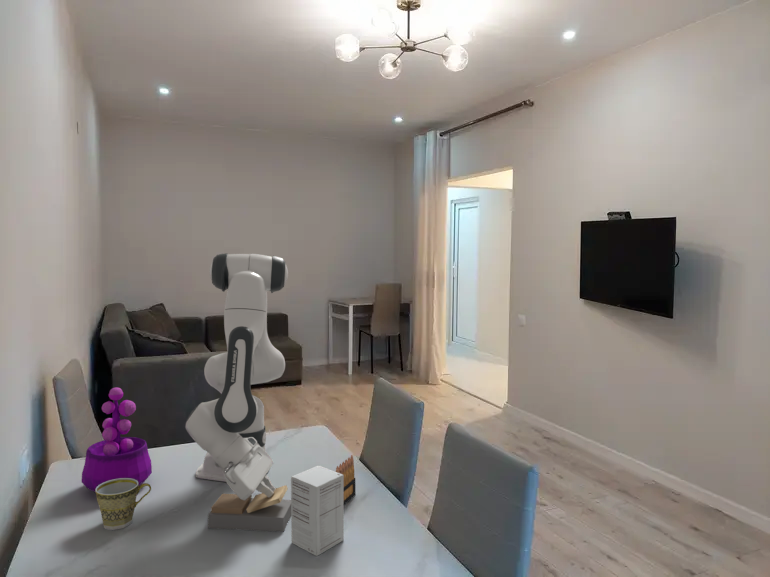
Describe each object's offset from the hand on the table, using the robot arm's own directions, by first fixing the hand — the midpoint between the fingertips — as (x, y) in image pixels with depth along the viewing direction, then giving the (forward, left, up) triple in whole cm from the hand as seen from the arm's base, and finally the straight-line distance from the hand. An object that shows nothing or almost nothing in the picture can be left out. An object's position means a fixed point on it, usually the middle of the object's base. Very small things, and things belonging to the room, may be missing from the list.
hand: (272, 493), depth 144 cm
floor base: (-5, 0, -8) cm, 9 cm away
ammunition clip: (+17, +13, -8) cm, 23 cm away
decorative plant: (-51, +16, -8) cm, 54 cm away
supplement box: (+13, -9, -8) cm, 18 cm away
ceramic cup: (-38, -4, -8) cm, 39 cm away
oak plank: (-1, 0, -2) cm, 2 cm away
